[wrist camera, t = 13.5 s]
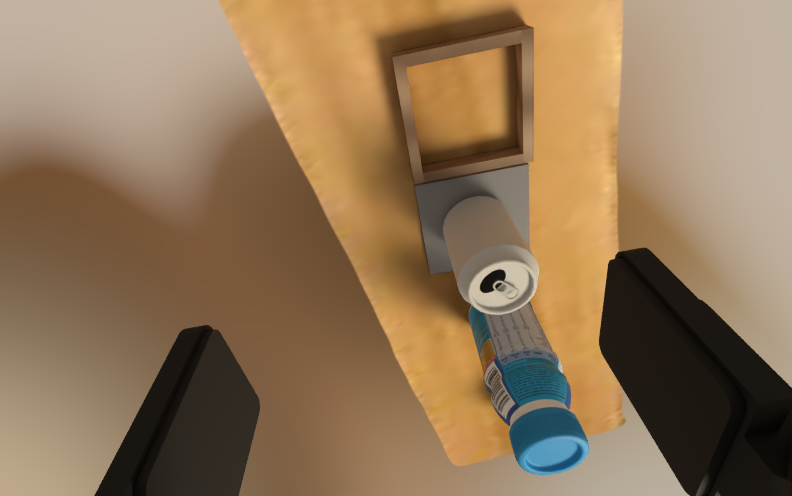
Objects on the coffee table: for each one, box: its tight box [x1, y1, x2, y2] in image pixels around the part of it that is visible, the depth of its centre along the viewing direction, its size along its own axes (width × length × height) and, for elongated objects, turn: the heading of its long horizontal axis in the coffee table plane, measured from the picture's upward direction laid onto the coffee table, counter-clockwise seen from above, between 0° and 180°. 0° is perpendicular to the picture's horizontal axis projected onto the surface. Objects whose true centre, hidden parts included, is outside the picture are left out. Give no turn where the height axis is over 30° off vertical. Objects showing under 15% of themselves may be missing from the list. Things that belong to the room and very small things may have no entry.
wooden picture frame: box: [391, 25, 534, 184], centre depth 39 cm, size 12×12×2 cm
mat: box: [414, 163, 529, 275], centre depth 47 cm, size 12×12×1 cm
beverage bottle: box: [468, 301, 589, 475], centre depth 47 cm, size 8×8×20 cm
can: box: [443, 196, 539, 315], centre depth 42 cm, size 8×8×12 cm
